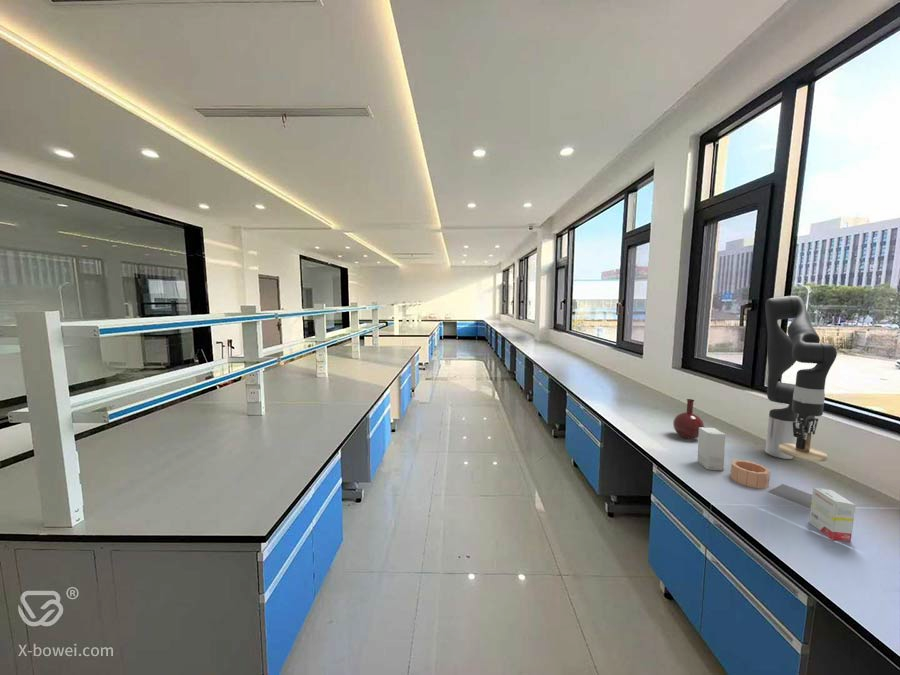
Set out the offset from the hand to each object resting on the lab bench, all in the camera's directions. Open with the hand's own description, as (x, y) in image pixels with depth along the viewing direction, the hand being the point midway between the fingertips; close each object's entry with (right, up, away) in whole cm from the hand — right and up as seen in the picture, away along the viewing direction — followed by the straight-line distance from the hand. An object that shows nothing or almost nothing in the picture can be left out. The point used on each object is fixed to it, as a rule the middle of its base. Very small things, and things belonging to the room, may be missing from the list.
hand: (802, 447), depth 122 cm
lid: (0, -2, 0) cm, 2 cm away
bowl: (-8, -17, +12) cm, 23 cm away
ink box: (-10, -20, -17) cm, 28 cm away
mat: (0, -18, +2) cm, 18 cm away
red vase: (-3, -13, +55) cm, 57 cm away
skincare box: (-14, -16, +25) cm, 33 cm away
